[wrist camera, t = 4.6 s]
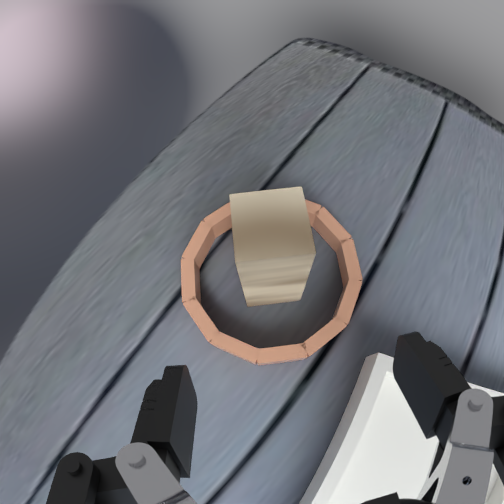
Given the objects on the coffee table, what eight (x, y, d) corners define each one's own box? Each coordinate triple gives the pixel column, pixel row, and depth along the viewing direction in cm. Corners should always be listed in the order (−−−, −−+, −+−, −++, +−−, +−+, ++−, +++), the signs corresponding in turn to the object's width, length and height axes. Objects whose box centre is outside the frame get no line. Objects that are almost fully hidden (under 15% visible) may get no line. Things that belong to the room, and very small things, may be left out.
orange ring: (231, 187, 28) (228, 174, 27) (371, 238, 26) (378, 226, 24) (159, 319, 24) (151, 313, 22) (318, 389, 21) (322, 389, 19)
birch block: (242, 258, 26) (229, 194, 17) (292, 252, 26) (301, 186, 17) (247, 306, 24) (235, 262, 16) (300, 300, 24) (316, 252, 16)
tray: (366, 356, 22) (378, 352, 19) (523, 406, 18) (543, 404, 15) (266, 554, 16) (266, 572, 13) (444, 573, 12) (458, 585, 9)
